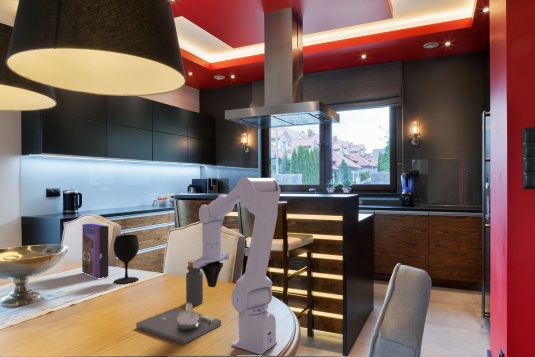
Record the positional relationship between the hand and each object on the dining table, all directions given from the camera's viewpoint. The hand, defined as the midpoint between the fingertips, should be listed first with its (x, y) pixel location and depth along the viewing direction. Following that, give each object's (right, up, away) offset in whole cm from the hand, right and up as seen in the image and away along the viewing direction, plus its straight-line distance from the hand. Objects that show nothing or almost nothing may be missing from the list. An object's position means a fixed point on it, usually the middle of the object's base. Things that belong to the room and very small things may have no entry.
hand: (212, 286), depth 105 cm
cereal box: (-65, -13, +55) cm, 86 cm away
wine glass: (-46, -12, +45) cm, 65 cm away
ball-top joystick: (-6, -9, -5) cm, 12 cm away
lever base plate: (-9, -10, -5) cm, 15 cm away
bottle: (-9, -11, +15) cm, 21 cm away
